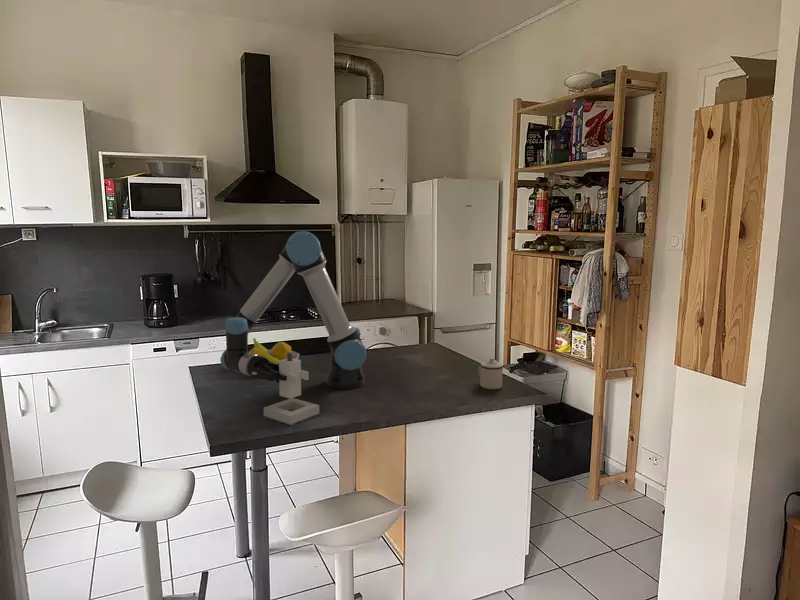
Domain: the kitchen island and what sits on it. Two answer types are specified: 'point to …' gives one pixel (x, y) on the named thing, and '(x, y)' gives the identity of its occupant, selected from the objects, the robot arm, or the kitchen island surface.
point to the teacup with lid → (491, 374)
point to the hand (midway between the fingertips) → (301, 377)
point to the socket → (291, 411)
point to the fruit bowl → (273, 351)
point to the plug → (292, 368)
